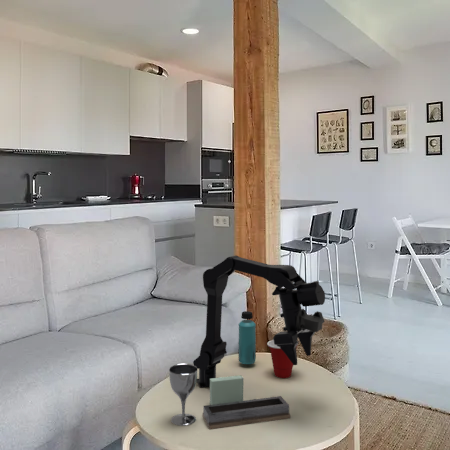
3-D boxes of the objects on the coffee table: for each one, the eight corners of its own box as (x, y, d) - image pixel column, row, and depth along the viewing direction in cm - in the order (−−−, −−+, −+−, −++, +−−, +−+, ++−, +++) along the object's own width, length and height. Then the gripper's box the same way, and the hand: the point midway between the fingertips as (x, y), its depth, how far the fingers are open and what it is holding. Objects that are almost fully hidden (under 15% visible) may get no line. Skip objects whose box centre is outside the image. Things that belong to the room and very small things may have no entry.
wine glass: (186, 429, 139) (186, 376, 137) (163, 421, 143) (163, 370, 142) (202, 417, 146) (202, 367, 144) (180, 410, 150) (180, 361, 148)
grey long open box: (202, 415, 146) (202, 404, 146) (279, 405, 153) (279, 394, 153) (209, 429, 139) (209, 417, 138) (290, 418, 145) (290, 406, 145)
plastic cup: (276, 366, 184) (276, 334, 183) (303, 373, 178) (303, 340, 177) (260, 376, 176) (261, 342, 174) (288, 383, 169) (288, 349, 168)
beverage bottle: (254, 369, 182) (255, 315, 180) (236, 367, 183) (236, 313, 181) (257, 362, 188) (257, 310, 186) (239, 361, 190) (239, 309, 188)
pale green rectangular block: (209, 403, 154) (209, 378, 154) (240, 399, 157) (241, 375, 156) (211, 407, 152) (211, 381, 151) (243, 403, 155) (243, 378, 154)
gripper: (302, 312, 137) (314, 369, 137) (328, 298, 153) (339, 349, 152) (267, 316, 143) (278, 370, 143) (295, 302, 159) (306, 351, 158)
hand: (302, 360), depth 149 cm, fingers open, 9 cm apart
